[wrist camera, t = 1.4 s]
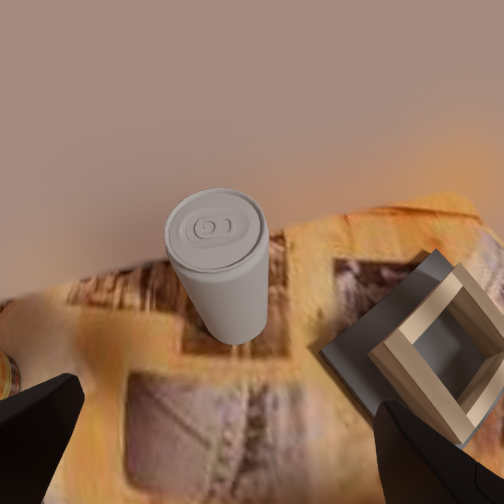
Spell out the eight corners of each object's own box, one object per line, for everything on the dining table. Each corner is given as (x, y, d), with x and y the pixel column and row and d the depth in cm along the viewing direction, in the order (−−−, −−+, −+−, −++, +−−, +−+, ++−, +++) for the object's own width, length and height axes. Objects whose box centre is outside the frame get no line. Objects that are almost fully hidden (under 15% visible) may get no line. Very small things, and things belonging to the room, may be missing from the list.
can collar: (424, 483, 15) (453, 490, 11) (318, 352, 21) (331, 336, 18) (516, 360, 19) (545, 346, 15) (431, 253, 25) (452, 226, 22)
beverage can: (205, 291, 24) (165, 191, 14) (264, 286, 25) (263, 181, 14) (206, 349, 22) (156, 279, 12) (270, 344, 22) (276, 269, 12)
